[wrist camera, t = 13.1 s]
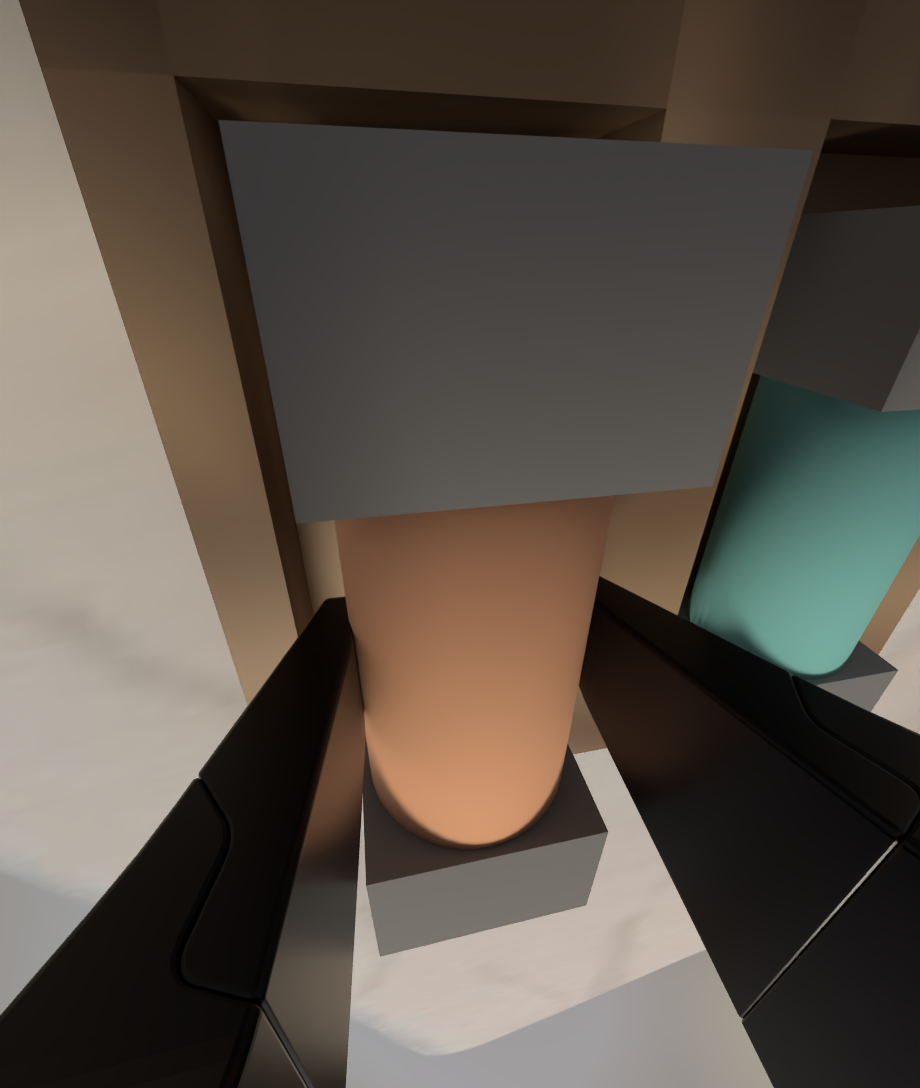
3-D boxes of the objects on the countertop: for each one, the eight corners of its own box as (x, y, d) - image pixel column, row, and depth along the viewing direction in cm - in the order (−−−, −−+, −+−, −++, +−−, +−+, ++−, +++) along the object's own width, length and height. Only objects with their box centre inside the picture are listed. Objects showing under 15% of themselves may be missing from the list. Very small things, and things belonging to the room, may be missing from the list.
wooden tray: (777, 637, 17) (849, 701, 14) (291, 714, 14) (281, 810, 11) (1030, 89, 9) (1261, 36, 7) (109, 9, 6) (-21, -125, 4)
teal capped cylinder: (744, 639, 15) (850, 742, 12) (634, 656, 15) (716, 769, 11) (918, 221, 10) (1204, 209, 6) (750, 217, 9) (977, 201, 6)
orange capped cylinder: (522, 733, 12) (585, 905, 9) (369, 761, 12) (379, 956, 8) (582, 198, 6) (813, 150, 3) (286, 189, 6) (218, 120, 3)
